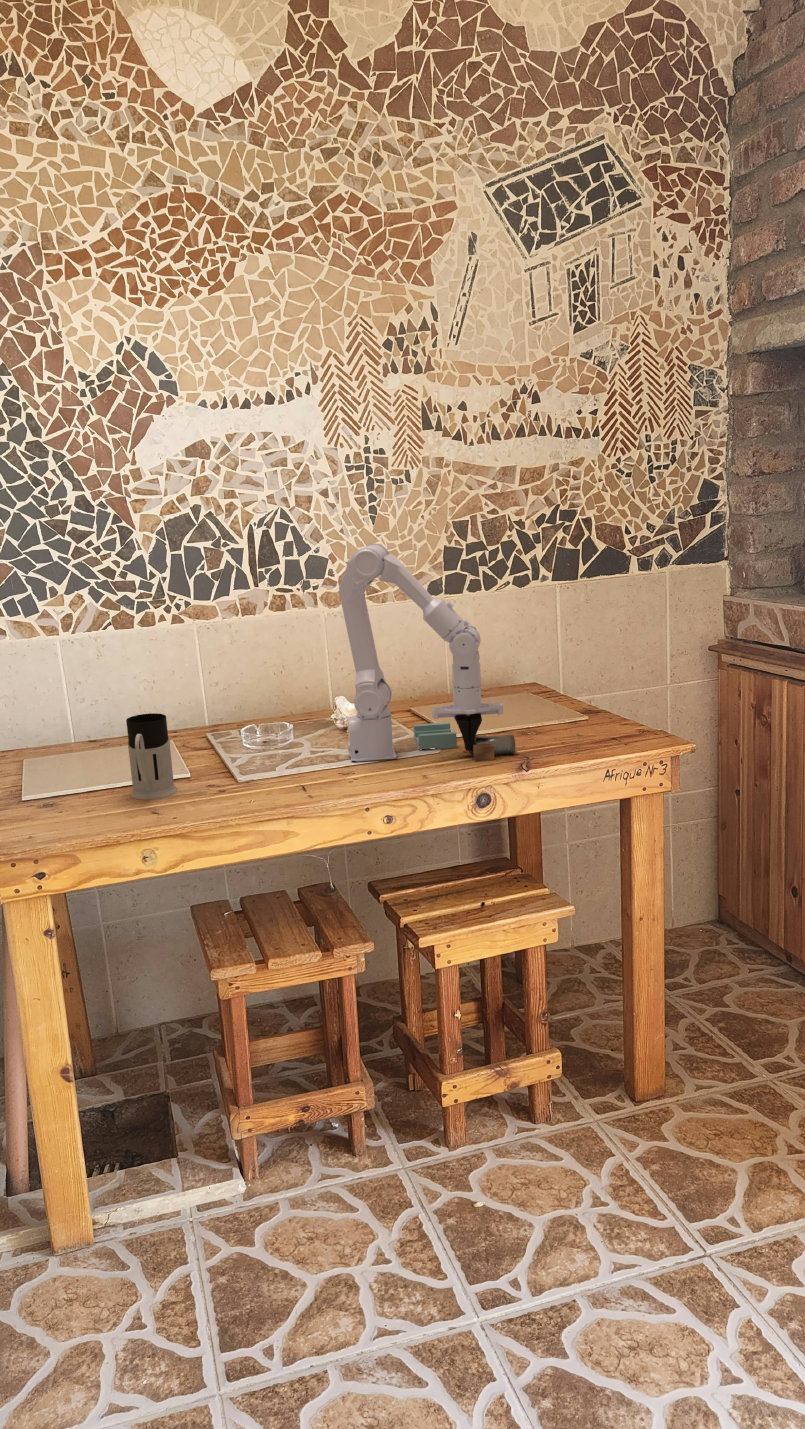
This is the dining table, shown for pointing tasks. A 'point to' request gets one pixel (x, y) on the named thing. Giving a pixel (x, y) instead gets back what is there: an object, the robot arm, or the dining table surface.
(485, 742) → the axle
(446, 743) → the v block
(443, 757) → the dining table surface
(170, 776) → the glass holder
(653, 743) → the dining table surface
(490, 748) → the block
